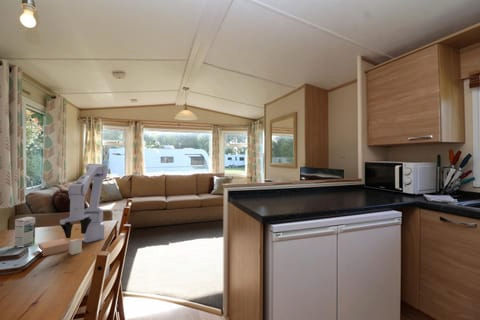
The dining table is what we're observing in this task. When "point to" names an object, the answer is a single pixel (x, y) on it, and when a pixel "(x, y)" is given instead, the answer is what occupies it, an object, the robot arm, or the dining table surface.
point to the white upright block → (75, 246)
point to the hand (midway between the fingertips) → (76, 235)
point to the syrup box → (24, 231)
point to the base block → (54, 246)
